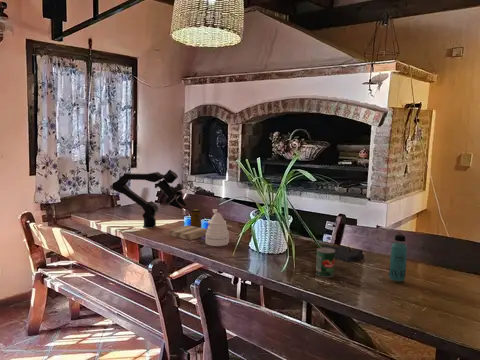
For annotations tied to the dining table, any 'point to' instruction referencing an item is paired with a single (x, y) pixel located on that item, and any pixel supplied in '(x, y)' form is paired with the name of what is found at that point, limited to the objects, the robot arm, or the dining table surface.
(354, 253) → the dark slate chunk
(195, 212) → the condiment
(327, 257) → the canned tomato
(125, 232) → the dining table surface
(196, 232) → the base board
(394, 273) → the beverage bottle
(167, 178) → the robot arm
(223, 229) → the honey pot
